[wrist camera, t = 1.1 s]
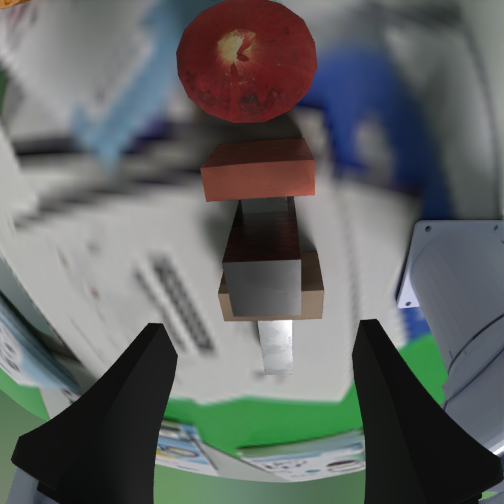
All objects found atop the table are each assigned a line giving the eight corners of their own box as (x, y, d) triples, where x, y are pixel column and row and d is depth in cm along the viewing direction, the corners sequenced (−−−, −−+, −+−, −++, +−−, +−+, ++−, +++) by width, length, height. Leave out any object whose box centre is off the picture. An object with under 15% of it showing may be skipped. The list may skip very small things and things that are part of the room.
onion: (308, 112, 14) (337, 142, 8) (205, 116, 15) (150, 152, 8) (303, 15, 11) (328, -35, 5) (197, 23, 12) (133, -12, 5)
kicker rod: (303, 137, 15) (321, 177, 10) (304, 350, 26) (307, 417, 20) (220, 143, 16) (185, 187, 10) (253, 352, 26) (247, 417, 21)
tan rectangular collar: (317, 251, 20) (324, 290, 16) (316, 278, 21) (321, 318, 18) (227, 255, 20) (217, 293, 17) (232, 281, 22) (224, 321, 18)
